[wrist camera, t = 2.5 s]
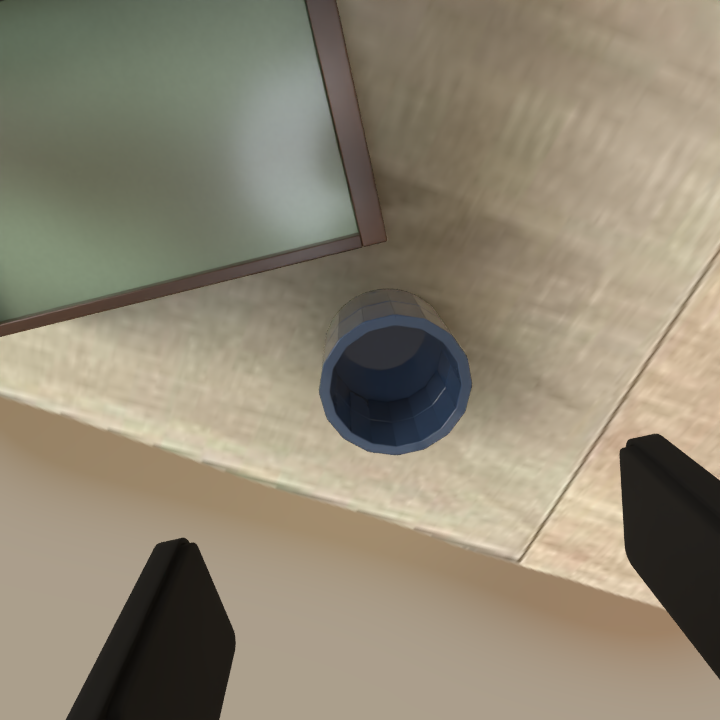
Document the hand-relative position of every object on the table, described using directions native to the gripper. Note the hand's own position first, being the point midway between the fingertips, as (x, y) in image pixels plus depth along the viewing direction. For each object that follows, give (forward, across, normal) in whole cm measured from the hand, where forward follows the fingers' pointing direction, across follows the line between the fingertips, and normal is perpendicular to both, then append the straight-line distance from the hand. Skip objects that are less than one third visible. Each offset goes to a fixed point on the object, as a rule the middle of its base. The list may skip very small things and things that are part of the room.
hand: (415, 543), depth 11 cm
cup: (+17, -1, +1) cm, 17 cm away
